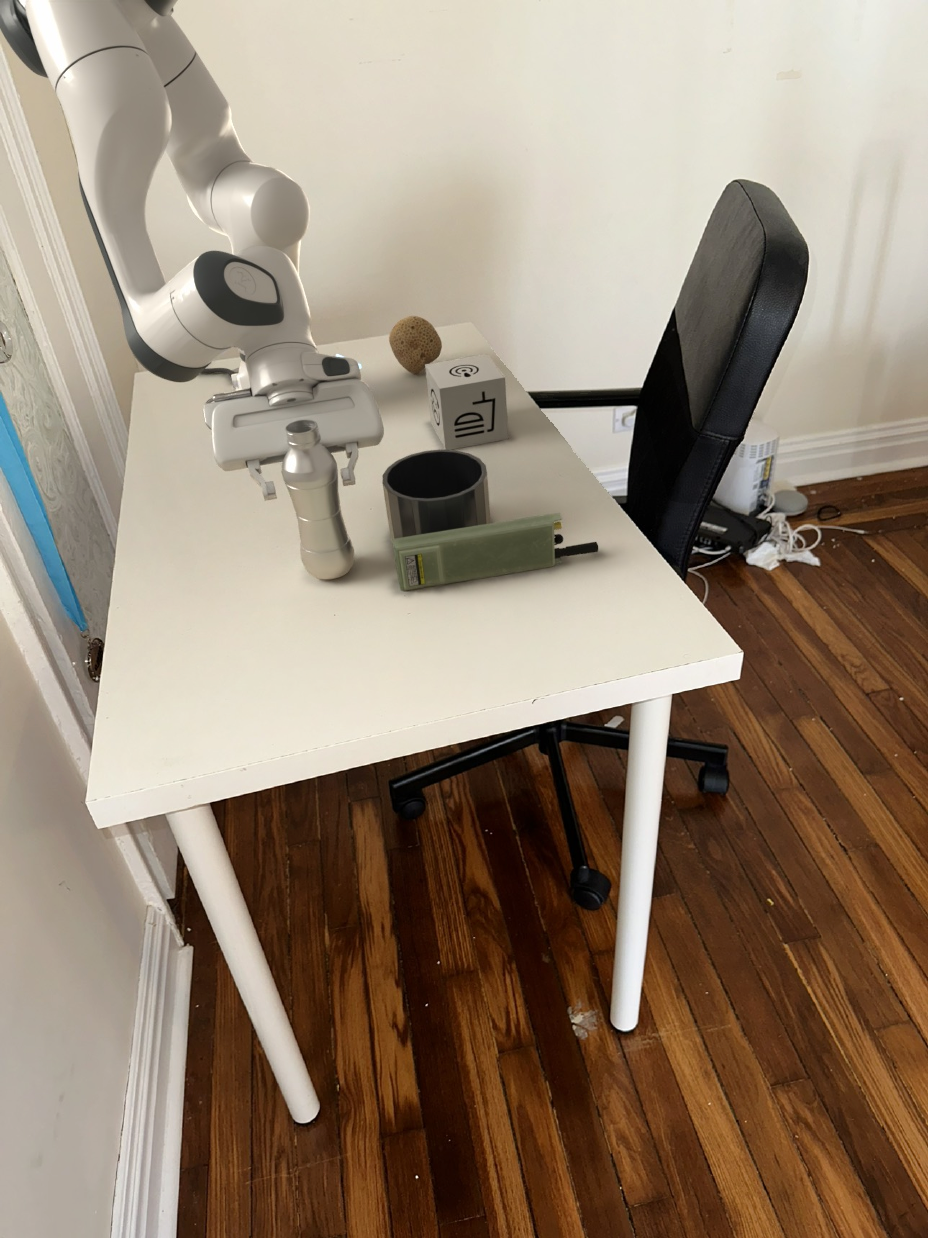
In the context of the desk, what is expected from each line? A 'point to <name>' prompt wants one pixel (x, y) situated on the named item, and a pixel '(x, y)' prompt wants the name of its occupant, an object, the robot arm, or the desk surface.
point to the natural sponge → (415, 343)
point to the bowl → (435, 493)
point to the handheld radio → (482, 551)
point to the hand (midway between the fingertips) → (310, 491)
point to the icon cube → (467, 401)
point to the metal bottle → (316, 502)
